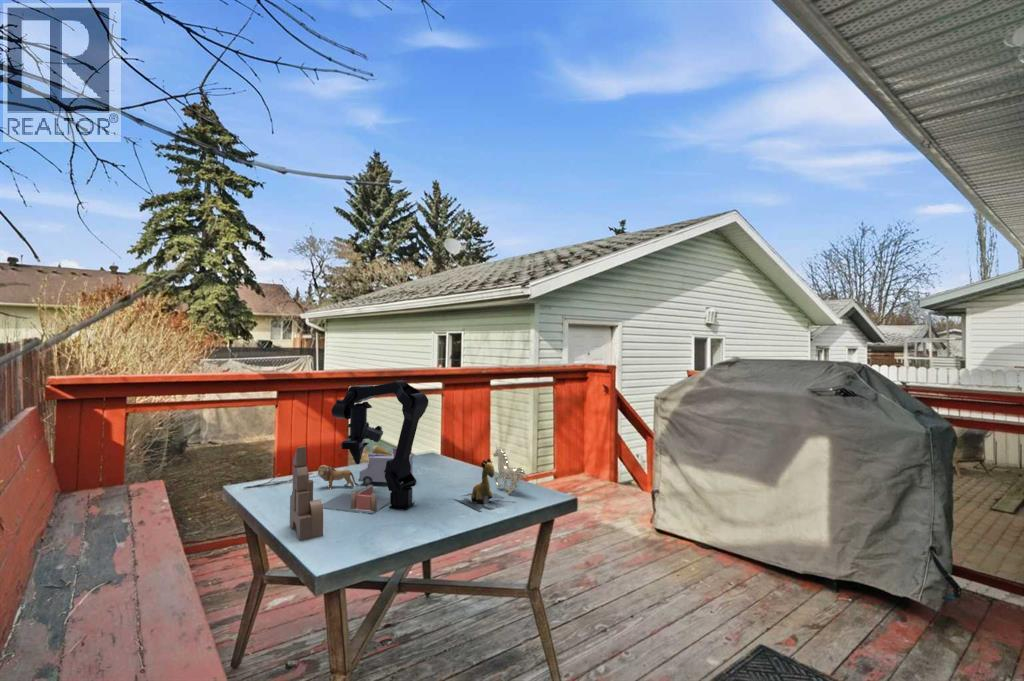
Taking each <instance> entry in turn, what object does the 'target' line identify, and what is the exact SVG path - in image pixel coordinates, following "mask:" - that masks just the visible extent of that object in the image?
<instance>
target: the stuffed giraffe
mask: <svg viewBox="0 0 1024 681" xmlns="http://www.w3.org/2000/svg"><path fill="white" fill-rule="evenodd" d="M480 465H481V466H480V467H482V472H481V482H479V483H477V484H475V485H474V487H473V488H472V492H470V493H467V494H462V495H461V497H463V496H464V498H463V499H457V498H456V499H455V498H453V500H454V501H456V502H459V503H462V504H465V505H467V506H468V507H471V508H472V509H473V510H474V511H477V512H478V513H481V512H482V510H483V509H484V510H486V511H487V510H488V511H490V510H491V509H492V510H493V509H498V508H501V507H505V506H508V505H506V504H503V503H512V504H517V501H510V500H505V499H506V497H505V496H502V495H500V494H497V493H496V492H492V491H491V489H490V488H491V485H490V480H489V477H490V478H491V479H492V478H493V479H494V477H495V467H494V464H493V460H492V459H491V458H487V459H483V460H482V462H481V463H480ZM466 496H467V497H466ZM469 496H470V497H471V498H468V497H469ZM489 504H491V505H489Z"/></svg>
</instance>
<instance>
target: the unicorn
mask: <svg viewBox="0 0 1024 681" xmlns="http://www.w3.org/2000/svg"><path fill="white" fill-rule="evenodd" d="M495 449H496V450H495V452H493V457H494V458H496V457H497V461H498V462H497V470H498V475H494V476H493V479H494V483H495V484H496V487H498V488H502V487H503V485H504V488H505V489H506V491H507V495H509V496H510V495H511V494H512V493H513V492H514V491H515V489H516V488H518V487H519V481H520V478H524V479H526V478H527V474H526V471H525V470H524V468H523V467H510V465H509V463H510V461H509V458H508V455H507V454H506V451H504V449H502V448H501V446H500V447H499V448H498V445H497V444H495ZM501 478H503V479H502V480H503V485H502V484H500V482H499V479H501ZM508 480H509V481H510V487H509V485H508Z"/></svg>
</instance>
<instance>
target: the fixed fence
mask: <svg viewBox="0 0 1024 681" xmlns="http://www.w3.org/2000/svg"><path fill="white" fill-rule="evenodd" d="M350 494H351V509H356V508H361V509H371V511H376V510H377V497H378V496H377V493H373V494H371V496H370V495H361V494H358V495H357V491H351V492H350Z"/></svg>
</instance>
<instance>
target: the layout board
mask: <svg viewBox="0 0 1024 681" xmlns="http://www.w3.org/2000/svg"><path fill="white" fill-rule="evenodd" d="M387 504H388V505H389V504H390V497H378V496H377V510H376V511H377V512H379V511H380V510H382V509H383V508H385V507H386V506H388V505H387ZM385 505H386V506H385ZM322 506H323V508H327V509H326V510H331V509H336V510H335V511H340V510H342V511H343V512H348V511H353V512H352V513H357V512H362V513H361V514H366V513H370V514H369V515H374V514H375V513H376V511H371V509H361V508H356V509H351V493H350V494H349V493H341V494H339V495H337V496H335V497H333V498H331V499H329V500H328V501H326V502H322ZM384 506H385V507H384ZM382 507H383V508H382ZM381 508H382V509H381ZM379 509H380V510H379ZM378 510H379V511H378ZM373 513H374V514H373Z"/></svg>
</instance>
